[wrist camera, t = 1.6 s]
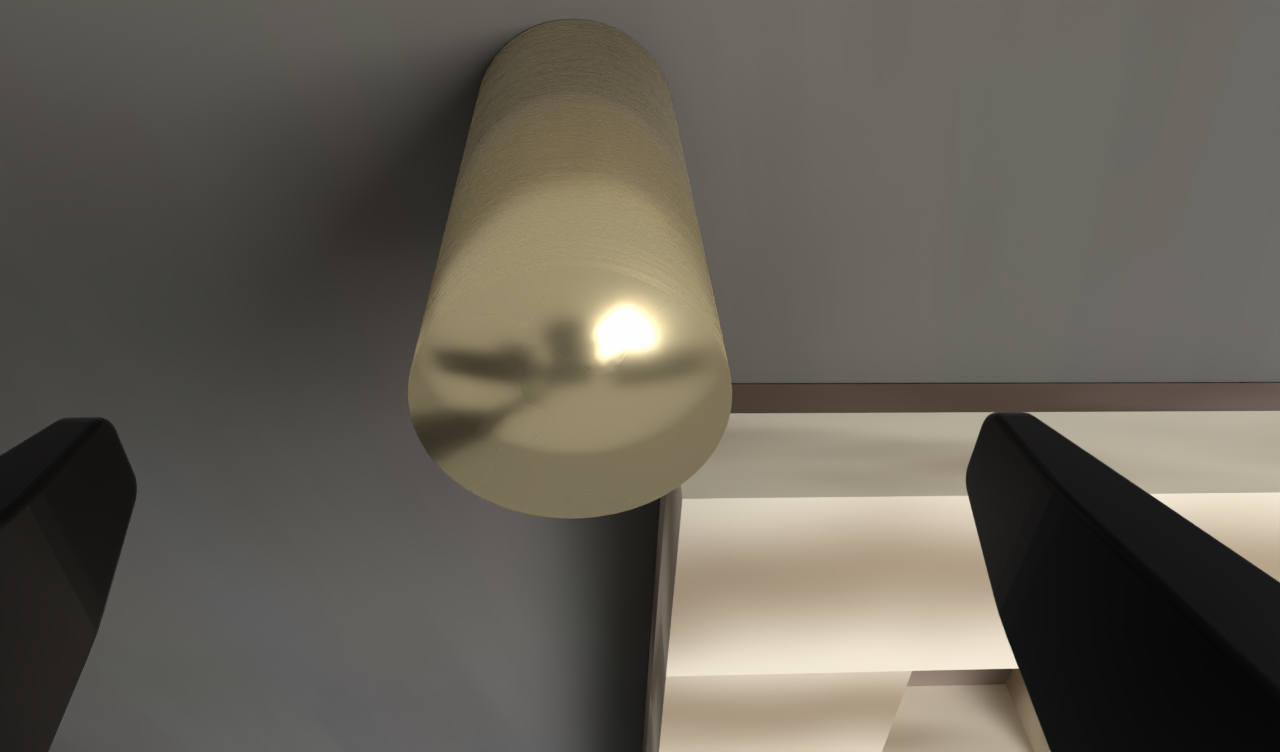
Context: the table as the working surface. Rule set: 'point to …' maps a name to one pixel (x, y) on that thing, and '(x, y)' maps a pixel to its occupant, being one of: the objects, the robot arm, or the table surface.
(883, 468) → the jig plate
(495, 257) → the brass pin
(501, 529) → the table surface
